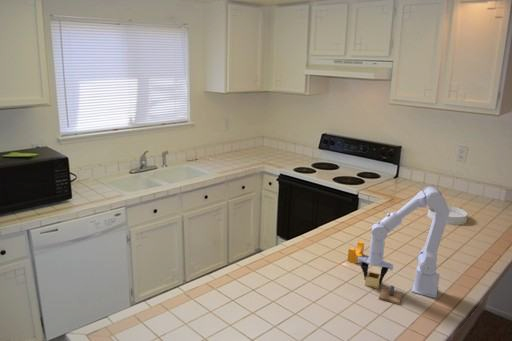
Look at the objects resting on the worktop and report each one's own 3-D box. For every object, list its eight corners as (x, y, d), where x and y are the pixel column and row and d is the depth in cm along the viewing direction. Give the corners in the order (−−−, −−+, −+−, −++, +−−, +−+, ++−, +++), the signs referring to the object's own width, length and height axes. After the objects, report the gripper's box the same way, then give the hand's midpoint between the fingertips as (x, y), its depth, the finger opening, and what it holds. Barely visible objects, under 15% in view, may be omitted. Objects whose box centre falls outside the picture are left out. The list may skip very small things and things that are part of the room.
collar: (380, 282, 186) (381, 274, 185) (378, 288, 181) (379, 280, 180) (367, 279, 188) (368, 271, 187) (364, 285, 183) (365, 276, 182)
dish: (432, 209, 281) (433, 202, 280) (469, 217, 269) (470, 210, 267) (422, 219, 263) (424, 211, 262) (462, 228, 251) (463, 220, 250)
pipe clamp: (356, 264, 202) (357, 251, 200) (347, 261, 205) (348, 248, 203) (366, 255, 211) (367, 243, 210) (358, 253, 214) (359, 240, 212)
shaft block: (402, 295, 177) (403, 285, 175) (399, 304, 170) (400, 294, 168) (382, 289, 180) (383, 280, 179) (378, 299, 173) (379, 289, 172)
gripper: (396, 251, 181) (392, 281, 185) (361, 244, 187) (358, 272, 191) (393, 258, 175) (389, 288, 178) (357, 250, 181) (354, 279, 184)
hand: (373, 281), depth 184 cm, fingers closed on collar, 6 cm apart
